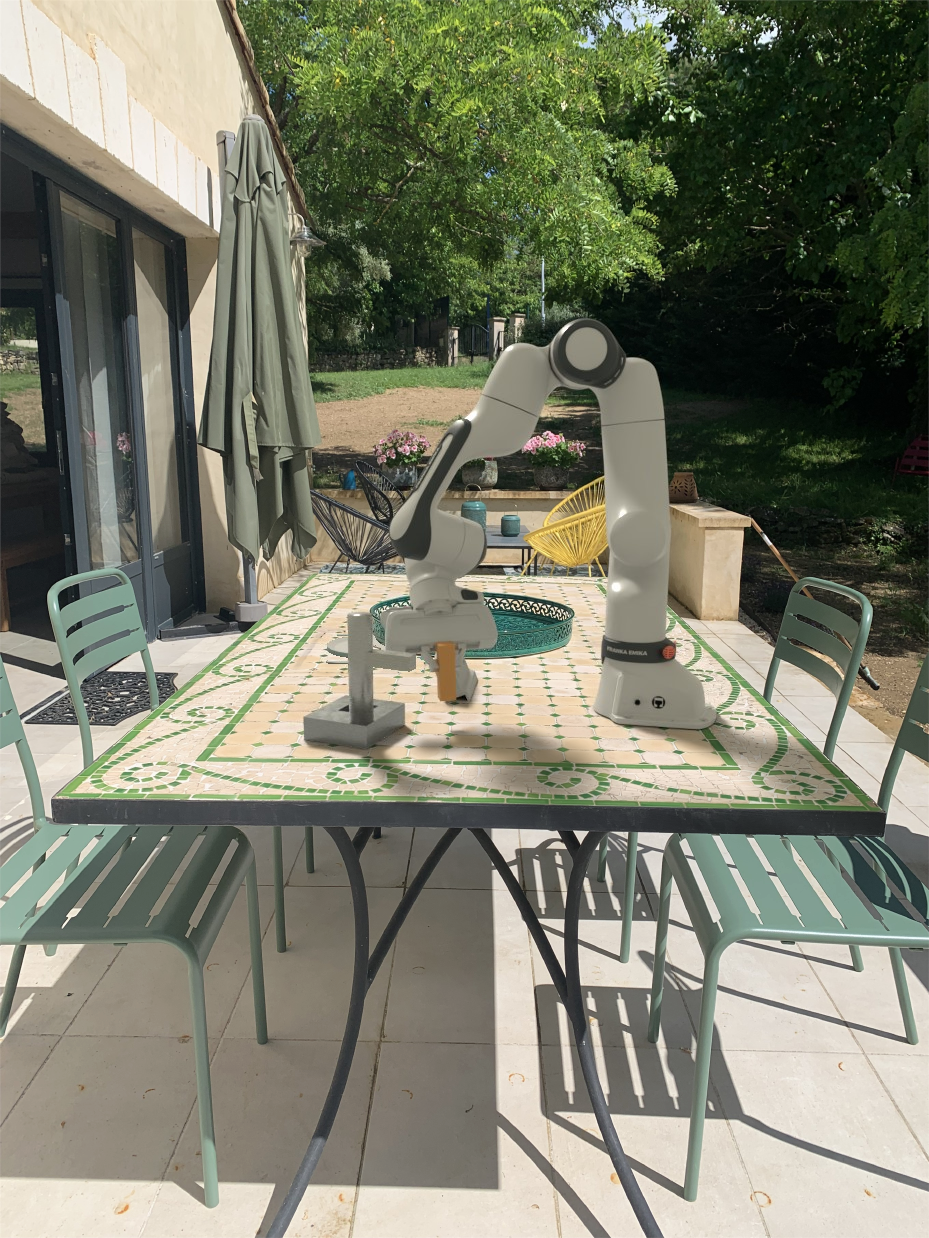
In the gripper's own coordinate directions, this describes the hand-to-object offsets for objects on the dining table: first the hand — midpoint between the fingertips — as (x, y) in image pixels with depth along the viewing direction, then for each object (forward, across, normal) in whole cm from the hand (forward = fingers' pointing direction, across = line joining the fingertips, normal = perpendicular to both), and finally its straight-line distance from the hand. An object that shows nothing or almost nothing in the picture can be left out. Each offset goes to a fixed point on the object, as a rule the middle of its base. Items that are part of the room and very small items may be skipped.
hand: (446, 669), depth 158 cm
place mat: (-34, -8, +49) cm, 61 cm away
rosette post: (+9, -13, +5) cm, 17 cm away
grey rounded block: (-9, +6, +24) cm, 26 cm away
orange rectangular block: (+3, 0, +4) cm, 5 cm away
